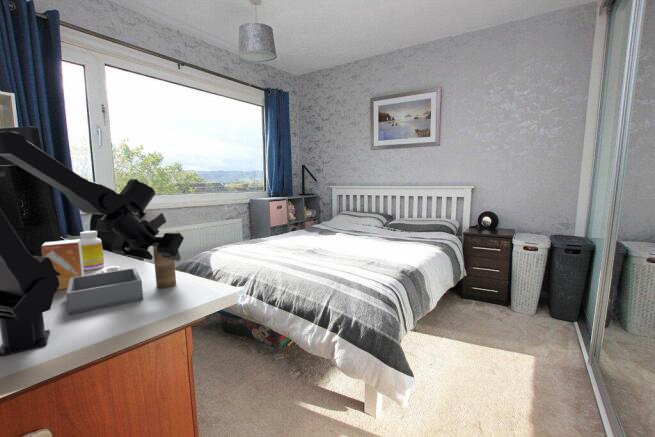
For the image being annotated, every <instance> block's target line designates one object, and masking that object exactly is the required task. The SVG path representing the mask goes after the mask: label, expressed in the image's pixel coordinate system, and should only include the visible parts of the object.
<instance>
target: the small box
mask: <svg viewBox="0 0 655 437" xmlns="http://www.w3.org/2000/svg"><path fill="white" fill-rule="evenodd" d="M40 248H41V255H42V256H41V257H49V258H50V260H51V261H52V264H53V267H54V269H55V270H56V271H57V272H58V273H60V275H59V276H57V277H58V279H59V282H60V286H59V287H58V289H57V291H59V290H64V289H65V290H67V289H68V284H69V280H70V278H72V277H79V276H85V270H84V267H83V258H82V249H81V239H80V238H77V239H66V240H65V239H64V240H57V241H56V240H55V241H45V242H44V243H43V244H42V245H41V247H40Z"/></svg>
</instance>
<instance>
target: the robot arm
mask: <svg viewBox="0 0 655 437" xmlns="http://www.w3.org/2000/svg"><path fill="white" fill-rule="evenodd" d="M0 157H3V158H4V159H6V160H7V161H9V162H11V163H13V164H15V165H16V166H18V167H20V168H21V169H23V170H25V171H26V172H28V173H29V174H31V175H33V176H35V177H36V178H38V179H40V180H41V181H43V182H45V183H46V184H48V185H50V186H51V187H53V188H54V189H57V190H58V191H60V192H61V193H62V194H64V195H65V197H66V198H67V200H68V201H69V203H71V205H73V206H74V207H76V208H77V209H78V210H79V211H80V212H82V213H84V214H86V215H103V217H102V218H97V219H96V222H97V223H96V228H95V231H97V232H98V231H99V232H111V231H113V232H114V233H116V234H117V235H116V237H115V239H114V241H112V243H111V245H110V248H111V251H112V252H113V253H115V254H116V255H122V256H127V257H132V258H137V259H143V260H148V261H152V260H153V259H154V255H152V253H151V252H150V251H149V248H151V247H153V246H157V252H158V253H159V254H160V255H162V257H165V258H168V259H171V260H174V262H180V260H181V255H180V251H179V249H180V247H181V245H182V243H183V242H184V241H183V240H184V236H183V234H182V233H180V232H175V231H174V232H171V231H167V232H165V233H164V234H163V236H157V235H158V234H160V230H159V229H160V227H162V226H163V225H164V224H166V223H167V220H166V218H165V215H164V213H163V211H161V210H157V211H156V210H154V211H153V210H152V211H151V210H150V211H145V209H146V208H147V207H148V206H149V204H150V203H151V201H152V200H153V198H154V197H155V195H156V190H155V189H154V188H153V187H152V186H149V185H148V184H146V183H143V182H142V181H139V180H138V179H137V178H130V179H129V180H128V181H127V182H126V185H125V186H124V188H123V189H122V190H121V191H120V193H118V192H116V191H115V190H113V189H112V188H109V187H107V186H106V185H103V184H101V183H98V182H95V181H93V180H92V181H91V180H90V179H87V178H84V177H83V176H80V175H79V174H77V172H75V171H73V170H72V169H70V168H69V167H67V166H65V165H64V164H63V163H61V162H60V161H58V160H57V159H55V158H54V157H53V156H51V155H50V154H48V153H46V152H45V151H44V150H42V149H40V148H39V147H37V146H36V145H34V143H31V142H30V141H28V140H27V139H26V137H25V136H23V134H21V133H18V132H17V131H14V130H13V131H12V130H7V131H0ZM59 275H60V273H58V272H57V271H56V270H55V269H54V267H53V264H52V261H51V260H50V258H49V257H42V256H39V255H32V254H31V253H30V252H29V251H28V249H27V248H26V246H25V245H24V243H23V241H22V240H21V238H20V236H19V235H18V234H17V232H16V230H15V229H14V227H13V226H12V225H11V223H10V221H9V220H8V218H7V217H6V215H5V213H4V212H3V210H2V209H1V208H0V337H1V344H0V357H1V356H6V355H10V354H15V353H17V352H23V351H27V350H31V349H34V348H38V347H43V346H45V345H48V340H49V338H50V334H51V330H50V329H46V330H45V321H44V315H43V313H44V312H49V311H50V310H51V307H52V303H53V301H54V297H55V294H56V293H57V291H58V290H57V289H58V287H59V286H60V282H59V279H58V277H57V276H59Z"/></svg>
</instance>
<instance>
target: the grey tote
mask: <svg viewBox="0 0 655 437" xmlns="http://www.w3.org/2000/svg"><path fill="white" fill-rule="evenodd" d="M65 295H66V302H67V308H68V315H75V314H80V313H84V312H88V311H94V310H99V309H105V308H108V307H109V308H110V307H113V306H118V305H123V304H128V303H133V302H137V301H142V300H144V291H143V281H142V279H141V277H140V274H139V272H138V270H137V269H136V267H131V268H124V269H121V270H112V271H108V272H104V273H101V272H99V273H93V274H92V273H91V274H87V275H85V274H84V276H79V277H72V278H70V280H69V284H68V288H66V294H65Z"/></svg>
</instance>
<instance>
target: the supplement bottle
mask: <svg viewBox="0 0 655 437" xmlns="http://www.w3.org/2000/svg"><path fill="white" fill-rule="evenodd" d="M79 233H80V234H79V236H80V238H81V249H82V258H83V267H84V271H93V270H94V271H95V270H98V269H103V268H104V267H105V261H104V252H103V243H102V239H101V238H100V237H99V238H98V230H84V231H81V232H79Z"/></svg>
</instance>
